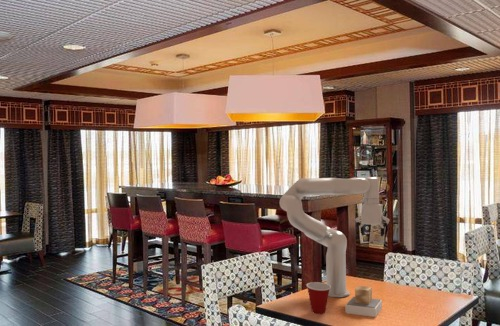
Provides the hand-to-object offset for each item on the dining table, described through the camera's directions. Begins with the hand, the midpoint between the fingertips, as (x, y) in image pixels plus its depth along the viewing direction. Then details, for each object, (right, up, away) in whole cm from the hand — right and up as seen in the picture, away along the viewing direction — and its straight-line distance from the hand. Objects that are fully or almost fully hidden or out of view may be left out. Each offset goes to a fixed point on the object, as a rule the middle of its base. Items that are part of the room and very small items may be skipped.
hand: (372, 235), depth 244 cm
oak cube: (-12, -25, -31) cm, 41 cm away
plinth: (-12, -29, -31) cm, 44 cm away
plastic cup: (-32, -29, -32) cm, 53 cm away
